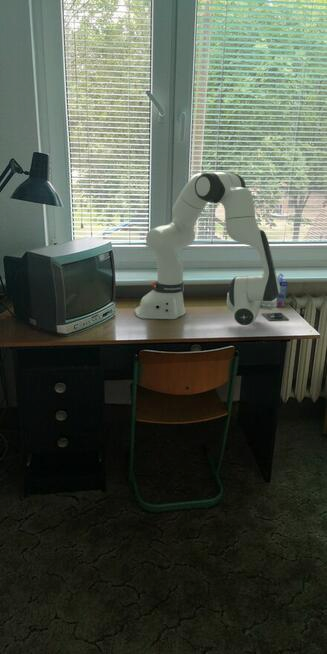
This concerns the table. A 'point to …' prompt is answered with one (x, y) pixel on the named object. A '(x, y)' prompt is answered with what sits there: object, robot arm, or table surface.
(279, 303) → the ink cartridge box
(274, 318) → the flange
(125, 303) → the table surface
